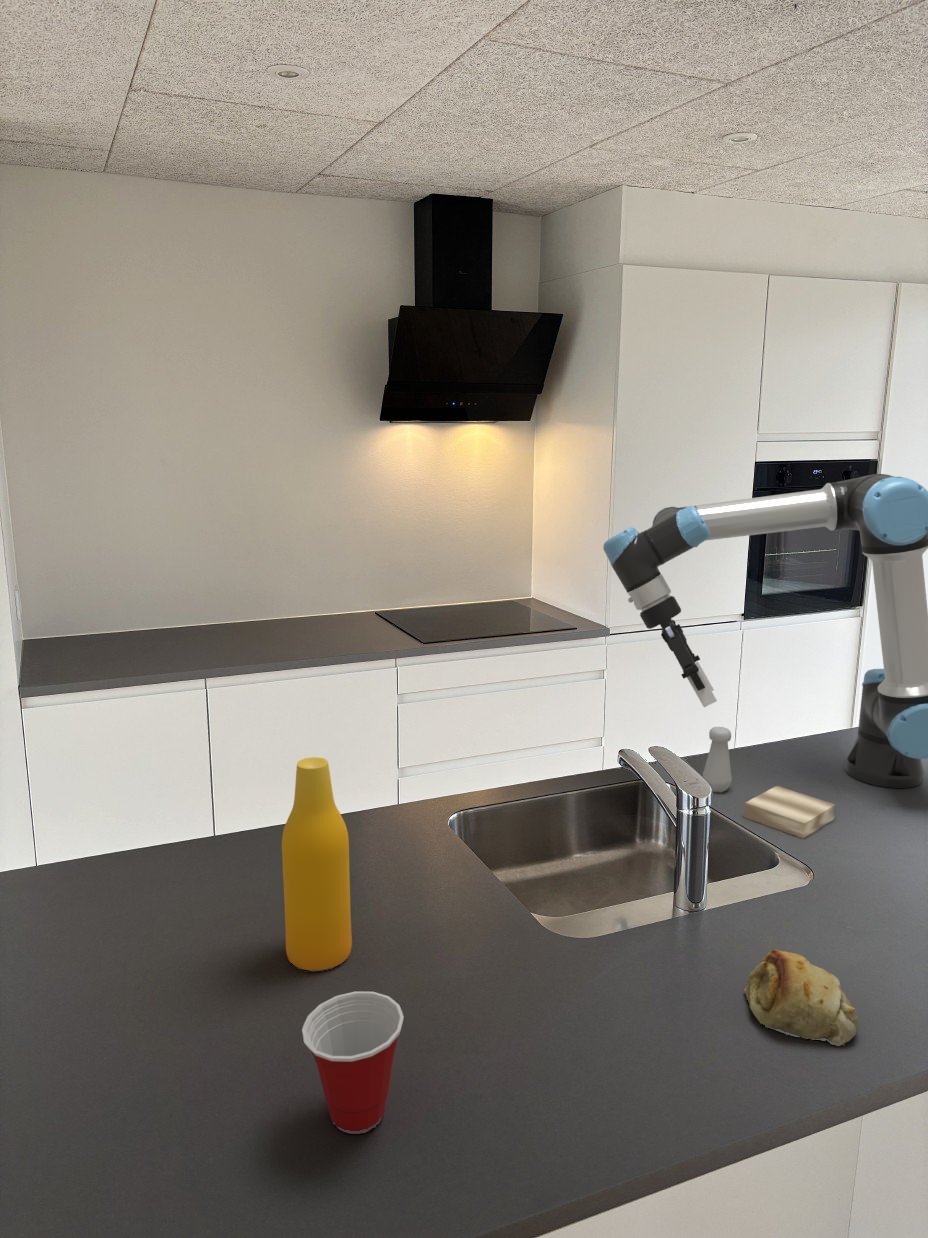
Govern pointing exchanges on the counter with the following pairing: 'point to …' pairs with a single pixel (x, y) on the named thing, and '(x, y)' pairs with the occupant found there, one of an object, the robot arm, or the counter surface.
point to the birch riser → (789, 811)
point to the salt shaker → (718, 760)
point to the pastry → (800, 999)
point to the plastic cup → (354, 1054)
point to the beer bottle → (316, 873)
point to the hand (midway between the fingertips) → (709, 698)
